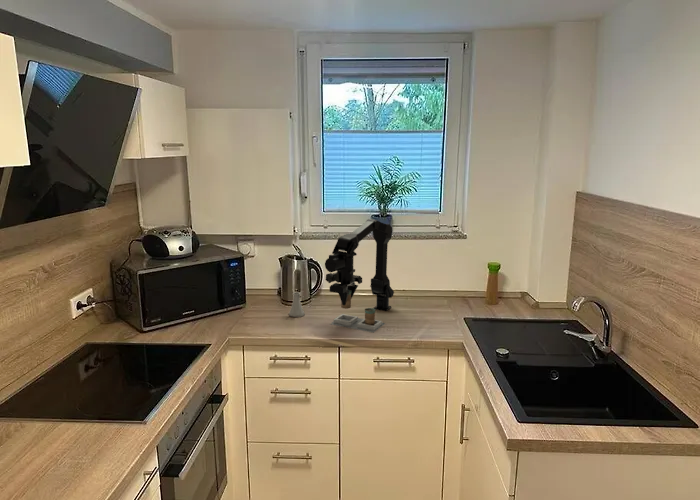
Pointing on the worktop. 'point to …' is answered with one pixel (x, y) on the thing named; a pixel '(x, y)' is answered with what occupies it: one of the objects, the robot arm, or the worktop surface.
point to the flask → (296, 306)
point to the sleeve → (347, 302)
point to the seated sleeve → (370, 316)
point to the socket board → (356, 323)
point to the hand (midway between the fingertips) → (346, 303)
